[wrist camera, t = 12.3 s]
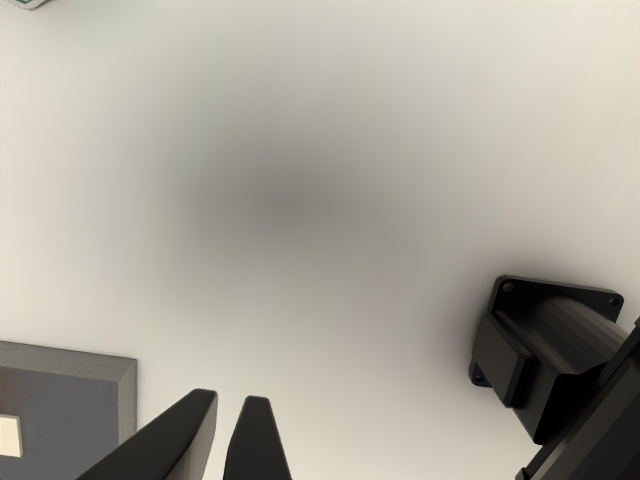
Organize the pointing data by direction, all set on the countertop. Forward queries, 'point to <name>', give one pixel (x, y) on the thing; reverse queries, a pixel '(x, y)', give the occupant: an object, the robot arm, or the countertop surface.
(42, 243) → the countertop surface
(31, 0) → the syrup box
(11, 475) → the plate
